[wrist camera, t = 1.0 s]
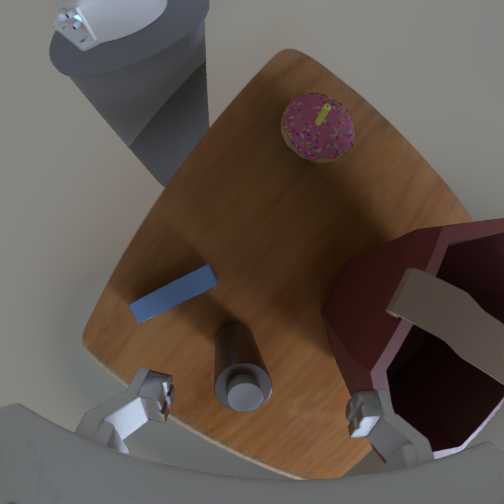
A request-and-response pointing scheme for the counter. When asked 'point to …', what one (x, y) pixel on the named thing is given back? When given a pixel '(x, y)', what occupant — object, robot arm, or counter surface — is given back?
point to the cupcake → (317, 128)
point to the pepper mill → (239, 369)
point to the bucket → (426, 328)
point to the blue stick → (173, 293)
